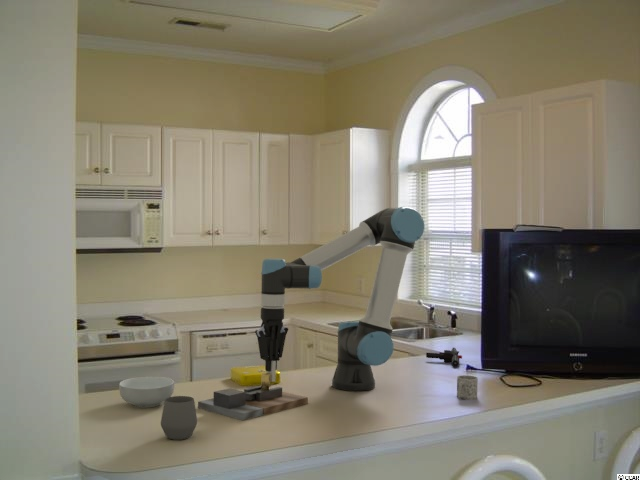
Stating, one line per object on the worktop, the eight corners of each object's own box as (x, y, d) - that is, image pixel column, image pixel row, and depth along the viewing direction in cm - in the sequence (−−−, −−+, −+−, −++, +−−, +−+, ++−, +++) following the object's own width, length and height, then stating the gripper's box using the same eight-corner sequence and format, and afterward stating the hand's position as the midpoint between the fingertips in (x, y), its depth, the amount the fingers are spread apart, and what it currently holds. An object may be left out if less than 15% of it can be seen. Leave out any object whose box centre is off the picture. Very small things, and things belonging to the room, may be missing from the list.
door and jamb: (263, 393, 239) (263, 387, 239) (307, 403, 226) (307, 397, 225) (197, 408, 217) (198, 401, 217) (242, 420, 204) (243, 413, 204)
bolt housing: (266, 392, 230) (266, 380, 230) (282, 396, 226) (282, 383, 226) (213, 405, 213) (213, 391, 213) (229, 409, 209) (229, 395, 209)
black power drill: (425, 356, 293) (462, 357, 290) (426, 343, 312) (461, 345, 310) (425, 368, 294) (462, 370, 291) (426, 355, 313) (461, 357, 310)
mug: (461, 393, 243) (462, 374, 243) (480, 396, 239) (480, 377, 239) (449, 399, 235) (449, 379, 235) (468, 402, 231) (468, 382, 231)
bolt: (266, 394, 228) (266, 372, 228) (273, 395, 226) (273, 373, 226) (243, 399, 220) (244, 376, 220) (250, 400, 218) (250, 378, 218)
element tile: (267, 376, 269) (267, 363, 269) (281, 384, 255) (282, 371, 255) (229, 379, 262) (229, 366, 262) (241, 387, 249) (242, 373, 249)
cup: (153, 439, 184) (153, 401, 184) (173, 430, 193) (173, 393, 193) (184, 444, 181) (185, 405, 181) (203, 434, 189) (204, 397, 189)
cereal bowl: (115, 400, 226) (115, 378, 225) (168, 396, 232) (168, 374, 232) (123, 413, 210) (123, 389, 210) (179, 408, 216) (179, 385, 216)
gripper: (278, 304, 234) (276, 376, 235) (249, 307, 224) (247, 381, 225) (295, 306, 229) (293, 379, 230) (266, 309, 220) (264, 385, 220)
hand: (270, 380), depth 227 cm, fingers closed
